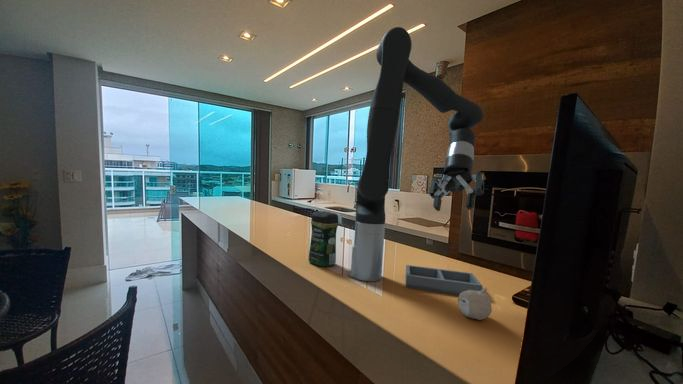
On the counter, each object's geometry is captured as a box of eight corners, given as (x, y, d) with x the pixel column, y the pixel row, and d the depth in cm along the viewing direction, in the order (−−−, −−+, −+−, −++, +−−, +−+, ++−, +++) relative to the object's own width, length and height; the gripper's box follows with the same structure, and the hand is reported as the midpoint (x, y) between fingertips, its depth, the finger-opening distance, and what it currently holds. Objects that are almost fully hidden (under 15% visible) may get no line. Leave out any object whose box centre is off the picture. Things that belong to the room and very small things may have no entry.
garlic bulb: (460, 321, 58) (463, 285, 58) (454, 308, 64) (457, 276, 64) (493, 326, 57) (496, 289, 56) (484, 313, 63) (487, 279, 63)
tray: (405, 287, 76) (406, 275, 76) (405, 275, 87) (406, 264, 87) (481, 298, 72) (482, 285, 71) (471, 284, 82) (472, 273, 82)
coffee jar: (304, 262, 94) (307, 210, 94) (320, 258, 100) (323, 209, 100) (323, 269, 88) (326, 213, 87) (339, 264, 94) (342, 212, 93)
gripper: (430, 157, 81) (421, 204, 74) (481, 147, 71) (475, 200, 64) (441, 171, 85) (433, 216, 78) (489, 163, 75) (485, 214, 69)
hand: (452, 209), depth 71 cm, fingers open, 8 cm apart
